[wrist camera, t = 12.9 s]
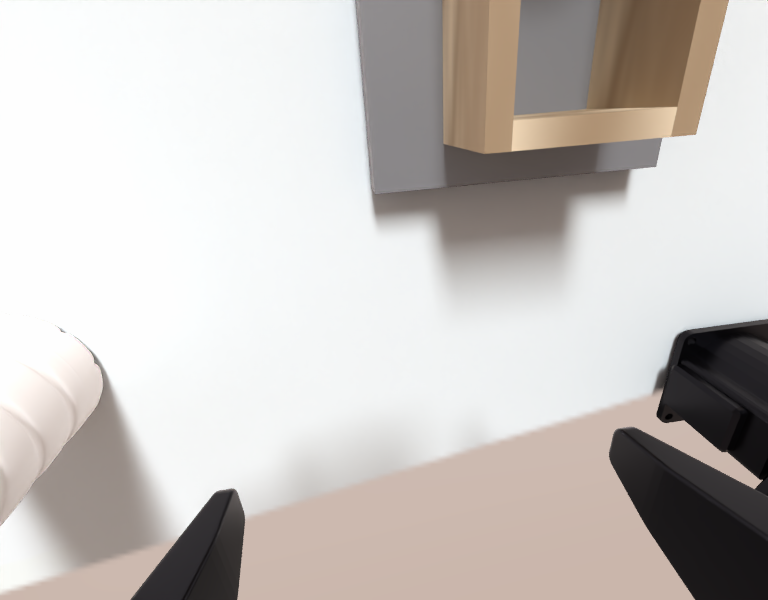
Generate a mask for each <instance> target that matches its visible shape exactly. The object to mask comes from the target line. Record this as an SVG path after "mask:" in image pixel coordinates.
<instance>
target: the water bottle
mask: <svg viewBox="0 0 768 600" xmlns="http://www.w3.org/2000/svg"><path fill="white" fill-rule="evenodd" d="M102 390H103V379H102V374H101V370H100V368H99V366H98V365H97V364H95V363H94V358H93V355H92V354H91V352H90V351H89V350H88V349H87V348H86V347H85V346H84V345H83V344H82V343H81V342H80V341H79V340H78V339H76V338H75V337H74V336H72V335H71V334H68V333H63V332H61V331H60V329H59V328H58V327H57V326H55V325H53V324H51V323H48V322H46V321H43V320H40V319H36V318H33V317H28V316H10V315H7V314H0V526H1V525H2V524H3V523H4V522H5V520H6V519H7V518H8V517H9V516H10V514H11V513H12V512H13V511H14V509H15V508H16V507H17V506H18V504H19V503H20V502H21V500H22V499H23V498H24V496H25V495H26V494H27V492H28V491H29V489H30V488H31V486H32V484H33V482H34V481H35V480H37V479H38V478H39V477H40V476H41V475H42V474H43V473H44V471H45V470H46V469H47V468H48V467H49V466H50V464H51V463H52V462H53V461H54V459H55V458H56V457H57V455H58V454H59V453H60V451H61V450H62V448H63V446H64V445H65V444H66V443H67V442H68V441H69V440H70V439H71V438H72V437H73V436H74V435H75V433H76V432H77V431H78V430H79V429H80V427H81V426H82V425H83V423H84V422H85V421H86V420H87V418H88V417H89V416H90V415H91V413H92V412H93V411H94V409H95V408H96V406H97V405H98V403H99V400H100V396H101V394H102Z"/></svg>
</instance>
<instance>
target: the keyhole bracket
mask: <svg viewBox="0 0 768 600" xmlns="http://www.w3.org/2000/svg"><path fill="white" fill-rule="evenodd" d="M728 2H729V0H601V1H600V8H599V16H598V23H597V31H596V39H595V46H594V54H593V61H592V69H591V77H590V84H589V92H588V99H587V107H586V109H582V110H571V111H559V112H547V113H535V114H523V115H514V103H515V86H516V70H517V54H518V37H519V21H520V5H521V0H442V26H443V144H446V145H450V146H454V147H458V148H462V149H466V150H470V151H474V152H478V153H482V154H490V153H501V152H511V151H522V150H533V149H544V148H555V147H566V146H577V145H588V144H598V143H609V142H620V141H631V140H642V139H653V138H664V137H674V136H685V135H696V132H697V128H698V124H699V120H700V116H701V112H702V107H703V103H704V99H705V95H706V91H707V87H708V83H709V79H710V75H711V71H712V67H713V63H714V59H715V54H716V50H717V46H718V42H719V38H720V34H721V30H722V26H723V22H724V18H725V14H726V10H727V6H728Z"/></svg>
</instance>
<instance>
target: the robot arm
mask: <svg viewBox="0 0 768 600" xmlns="http://www.w3.org/2000/svg"><path fill="white" fill-rule="evenodd" d="M657 417H658V418H659V419H660V420H661V421H662V422H664V423H669V422H676V421H682V420H685V421H686V422H687V423H688V424H689V425H691V426H692V427H693V428H694V429H695V430H696V431H698V432H699V433H700V434H701V435H702V436H703V437H705V438H706V439H707V440H708V441H709V442H710V443H712V444H713V445H714V446H715V447H716V448H717V449H719V450H720V451H721V452H728V453H729V454H730V455H731V456H733V457H734V458H735V459H736V460H737V461H739V462H740V463H741V464H742V465H743V466H744V467H746V468H747V469H748V470H749V471H750V472H751V473H753V474H754V475H755V476H756V477H757V478H759V479H760V480H763V481H762V482H761V483H760V484H759V485H758V486H757V487H756V488H755V489H753V488H751V487H749V486H747V485H745V484H743V483H741V482H739V481H737V480H735V479H733V478H731V477H729V476H728V475H726V474H724V473H722V472H720V471H718V470H716V469H714V468H712V467H710V466H708V465H707V464H704V463H703V462H701V461H699V460H697V459H695V458H693V457H691V456H689V455H687V454H685V453H683V452H681V451H680V450H678V449H676V448H674V447H672V446H670V445H668V444H666V443H664V442H662V441H660V440H658V439H656V438H654V437H652V436H651V435H649V434H647V433H645V432H643V431H641V430H639V429H637V428H635V427H626V428H620V429H617V430H615V432H614V434H613V438H612V443H611V447H610V452H609V457H610V461H611V464H612V466H613V468H614V469H615V471H616V473H617V475H618V477H619V479H620V480H621V482H622V484H623V486H624V487H625V489H626V491H627V492H628V495H629V497H630V498H631V500H632V502H633V504H634V506H635V508H636V509H637V511H638V513H639V515H640V517H641V518H642V520H643V522H644V523H645V525H646V527H647V528H648V530H649V532H650V533H651V535H652V536H653V538H654V539H655V540H656V542H657V543H658V545H659V547H660V548H661V550H662V551H663V552H664V554H665V556H666V557H667V559H668V560H669V561H670V563H671V564H672V566H673V567H674V569H675V570H676V572H677V573H678V575H679V576H680V578H681V579H682V581H683V582H684V584H685V585H686V587H687V588H688V590H689V591H690V593H691V594H692V596H693V597H694V599H695V600H768V319H766V320H758V321H751V322H743V323H736V324H729V325H721V326H714V327H706V328H699V329H691V330H687V331H684V332H683V333H682V334H681V335H680V336H679V338H678V341H677V344H676V348H675V351H674V355H673V358H672V362H671V365H670V369H669V372H668V376H667V379H666V383H665V386H664V390H663V393H662V396H661V400H660V404H659V407H658V411H657ZM244 526H245V515H244V511H243V508H242V505H241V502H240V499H239V496H238V493H237V491H236V490H235V489H226V490H220V491H217V492H216V493H214V494H213V496H212V497H211V498H210V499H209V501H208V502H207V503H206V504H205V506H204V507H203V508H202V510H201V511H200V512H199V513H198V515H197V516H196V517H195V518H194V520H193V521H192V522H191V524H190V525H189V526H188V527H187V529H186V530H185V531H184V532H183V534H182V535H181V536H180V537H179V539H178V540H177V541H176V543H175V544H174V545H173V546H172V548H171V549H170V550H169V551H168V553H167V554H166V555H165V557H164V558H163V559H162V560H161V562H160V563H159V564H158V566H157V567H156V568H155V570H154V571H153V572H152V573H151V574H150V576H149V577H148V578H147V579H146V581H145V582H144V583H143V584H142V586H141V587H140V588H139V590H138V591H137V592H136V593H135V595H134V596H133V597H132V598H131V600H237V597H238V588H239V578H240V568H241V557H242V546H243V536H244Z"/></svg>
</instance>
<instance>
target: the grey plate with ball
mask: <svg viewBox="0 0 768 600" xmlns="http://www.w3.org/2000/svg"><path fill="white" fill-rule="evenodd" d="M600 1H601V0H521V5H520V21H519V37H518V54H517V70H516V86H515V103H514V115H523V114H535V113H547V112H559V111H571V110H582V109H586V107H587V99H588V92H589V84H590V77H591V69H592V61H593V54H594V46H595V39H596V31H597V23H598V16H599V8H600ZM356 9H357V21H358V33H359V45H360V57H361V69H362V80H363V92H364V104H365V116H366V128H367V140H368V151H369V163H370V175H371V187H372V190H373V191H374V193H375V194H382V193H393V192H403V191H413V190H423V189H434V188H444V187H454V186H464V185H474V184H485V183H495V182H505V181H515V180H526V179H536V178H546V177H556V176H566V175H577V174H587V173H597V172H607V171H617V170H628V169H638V168H648V167H656V164H657V160H658V155H659V150H660V146H661V141H662V138H653V139H642V140H631V141H620V142H609V143H598V144H588V145H577V146H566V147H555V148H544V149H533V150H522V151H511V152H501V153H490V154H482V153H478V152H474V151H470V150H466V149H462V148H458V147H454V146H450V145H446V144H443V26H442V0H356Z"/></svg>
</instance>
